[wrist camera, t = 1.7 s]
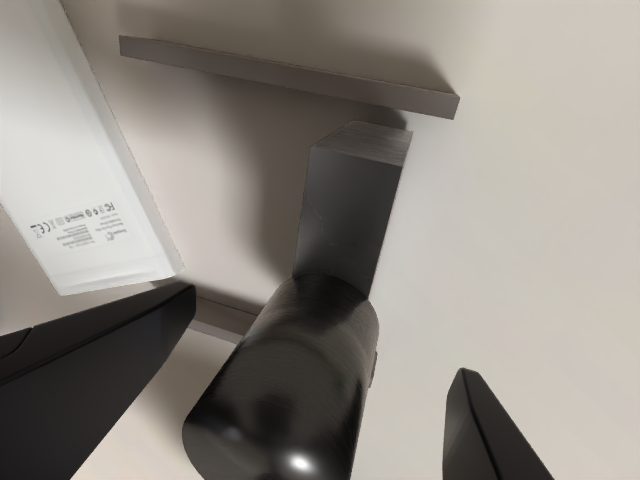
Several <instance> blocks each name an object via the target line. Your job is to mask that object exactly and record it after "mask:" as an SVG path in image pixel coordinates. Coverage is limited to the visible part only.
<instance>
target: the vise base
mask: <svg viewBox="0 0 640 480" xmlns="http://www.w3.org/2000/svg"><path fill="white" fill-rule="evenodd" d="M119 43H120V54H121V56H126V57H131V58H136V59H141V60H146V61H152V62H157V63H162V64H167V65H172V66H177V67H183V68H188V69H193V70H198V71H203V72H208V73H214V74H219V75H224V76H229V77H234V78H239V79H245V80H250V81H255V82H260V83H265V84H270V85H276V86H281V87H286V88H291V89H296V90H301V91H307V92H312V93H317V94H322V95H327V96H332V97H338V98H343V99H348V100H353V101H358V102H363V103H369V104H374V105H379V106H384V107H389V108H394V109H400V110H405V111H410V112H415V113H420V114H425V115H431V116H436V117H441V118H446V119H451V120H453V119H454V116H455V113H456V110H457V106H458V103H459V100H460V97H459V96H458V95H456V94H451V93H445V92H440V91H434V90H429V89H423V88H418V87H412V86H407V85H401V84H396V83H390V82H385V81H379V80H374V79H368V78H363V77H357V76H352V75H346V74H341V73H335V72H330V71H324V70H318V69H313V68H307V67H302V66H296V65H291V64H285V63H280V62H274V61H269V60H263V59H258V58H252V57H247V56H241V55H236V54H230V53H225V52H219V51H214V50H208V49H203V48H197V47H192V46H186V45H181V44H175V43H170V42H164V41H159V40H153V39H146V38H138V37H130V36H121V35H119ZM196 303H197V308H196V314H195V316H194V318H193V320H192V321H191V323H190V324H189V326H188V327H187V328H190V329H193V330H196V331H199V332H202V333H205V334H208V335H211V336H214V337H217V338H220V339H223V340H226V341H229V342H232V343H235V344H239V342H240V341H241V339H242V338H243V337H244V335H245V334H246V332H247V331H248V329H249V328H250V327H251V325H252V324H253V322H254V321H255V320H256V318H257V317H258V316H256V315H253V314H250V313H247V312H243V311H240V310H237V309H234V308H231V307H228V306H224V305H221V304H218V303H215V302H212V301H209V300H205V299H202V298H199V297H196ZM376 360H377V353H375V356H374V361H373V366H372V371H371V376H370V381H369V386H368V388H370V387H371V383H372V380H373V376H374V370H375V365H376Z"/></svg>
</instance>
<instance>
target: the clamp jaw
mask: <svg viewBox="0 0 640 480" xmlns="http://www.w3.org/2000/svg"><path fill="white" fill-rule="evenodd" d="M412 134H413V132H412V131H407V130H402V129H397V128H392V127H387V126H382V125H377V124H373V123H368V122H363V121H358V120H352V121H351V122H349V123H348V124H346V125H344V126H343V127H341V128H339V129H338V130H336V131H335V132H333V133H331V134H330V135H328V136H327V137H325V138H323V139H322V140H320V141H318V142H317V143H315V144H314V145H312V146H310V153H309V160H308V168H307V175H306V182H305V189H304V196H303V203H302V210H301V217H300V224H299V232H298V239H297V246H296V253H295V260H294V267H293V274H292V278H290V279H288V280H287V281H285V282H284V283H283V284H282V285H280V286H279V288H278V289H277V290H276V291H275V293H274V294H273V296H272V297H271V298H270V300H269V301H268V303H267V304H266V305H265V307H264V308H263V310H262V311H261V313H260V314H259V315H258V317H257V318H256V320H255V321H254V322H253V324H252V325H251V327H250V328H249V329H248V331H247V332H246V334H245V335H244V337H243V338H242V339H241V341H240V342H239V344H238V345H237V346H236V348H235V349H234V351H233V352H232V354H231V355H230V356H229V358H228V359H227V361H226V362H225V363H224V365H223V366H222V368H221V369H220V370H219V372H218V373H217V375H216V376H215V378H214V379H213V380H212V382H211V383H210V385H209V386H208V387H207V389H206V390H205V392H204V393H203V394H202V396H201V397H200V399H199V400H198V402H197V403H196V404H195V406H194V407H193V409H192V410H191V411H190V413H189V414H188V416H187V417H186V419H185V421H184V424H183V428H182V439H183V444H184V448H185V451H186V453H187V455H188V458H189V459H190V461H191V463H192V465H193V466H194V467H195V469H196V470H197V471H198V473H199V474H200V475H201V476H202V477H203V478H204V480H350V477H351V472H352V467H353V462H354V457H355V452H356V447H357V442H358V437H359V432H360V427H361V422H362V417H363V412H364V407H365V401H366V396H367V391H368V386H369V381H370V376H371V371H372V366H373V361H374V356H375V351H376V346H377V341H378V336H379V323H378V318H377V315H376V313H375V310H374V308H373V306H372V305H371V303H370V302H369V296H370V293H371V289H372V285H373V281H374V278H375V274H376V270H377V266H378V263H379V259H380V255H381V251H382V247H383V244H384V240H385V236H386V232H387V229H388V225H389V221H390V217H391V214H392V210H393V206H394V202H395V198H396V195H397V191H398V187H399V183H400V180H401V176H402V172H403V168H404V165H405V161H406V157H407V153H408V150H409V146H410V142H411V138H412Z"/></svg>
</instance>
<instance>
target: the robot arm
mask: <svg viewBox="0 0 640 480" xmlns="http://www.w3.org/2000/svg"><path fill="white" fill-rule="evenodd" d="M196 308H197V303H196V286H195V285H193V284H191V283H187V282H184V281H178V282H175V283H172V284H169V285H165V286H162V287H159V288H156V289H152V290H149V291H146V292H143V293H139V294H136V295H133V296H130V297H126V298H123V299H120V300H117V301H114V302H110V303H107V304H104V305H101V306H97V307H94V308H91V309H88V310H84V311H81V312H78V313H75V314H71V315H68V316H65V317H62V318H58V319H55V320H52V321H49V322H46V323H42V324H39V325H36V326H34V327H33V328H31V327H29V328H26V329H23V330H20V331H16V332H13V333H10V334H6V335H3V336H0V480H70V479H71V478H72V477H73V475H74V474H75V473H76V472H77V470H78V469H79V468H80V467H81V465H82V464H83V463H84V462H85V460H86V459H87V458H88V457H89V456H90V454H91V453H92V452H93V451H94V449H95V448H96V447H97V446H98V444H99V443H100V442H101V441H102V439H103V438H104V437H105V436H106V435H107V433H108V432H109V431H110V430H111V428H112V427H113V426H114V425H115V423H116V422H117V421H118V420H119V419H120V417H121V416H122V415H123V414H124V412H125V411H126V410H127V409H128V407H129V406H130V405H131V404H132V402H133V401H134V400H135V399H136V398H137V396H138V395H139V394H140V393H141V391H142V390H143V389H144V388H145V386H146V385H147V384H148V383H149V381H150V380H151V379H152V378H153V377H154V375H155V374H156V373H157V372H158V370H159V369H160V368H161V366H162V365H163V364H164V362H165V361H166V359H167V358H168V357H169V355H170V354H171V352H172V350H173V349H174V347H175V346H176V344H177V343H178V341H179V340H180V338H181V337H182V335H183V334H184V332H185V330H186V329H187V327H188V326H189V324H190V323H191V321H192V320H193V318H194V316H195V314H196ZM442 471H443V480H554V478H553V477H552V475H551V474H550V473H549V471H548V470H547V468H546V467H545V465H544V464H543V463H542V461H541V460H540V458H539V457H538V456H537V454H536V453H535V451H534V450H533V448H532V447H531V446H530V444H529V443H528V441H527V440H526V439H525V437H524V436H523V434H522V433H521V432H520V430H519V429H518V427H517V426H516V424H515V423H514V422H513V420H512V419H511V417H510V416H509V415H508V413H507V412H506V410H505V409H504V407H503V406H502V405H501V403H500V402H499V400H498V399H497V398H496V396H495V395H494V393H493V392H492V391H491V389H490V388H489V386H488V385H487V383H486V382H485V381H484V379H483V378H482V376H481V375H480V374H479V373H478V372H476V371H473V370H469V369H466V368H460V369H459V370H458V371H457V374H456V376H455V378H454V380H453V382H452V385H451V387H450V389H449V391H448V395H447V401H446V415H445V430H444V445H443V462H442Z"/></svg>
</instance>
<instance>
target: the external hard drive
mask: <svg viewBox="0 0 640 480" xmlns="http://www.w3.org/2000/svg"><path fill="white" fill-rule="evenodd" d="M0 203H1V205H2V206H3V208H4V210H5V211H6V213H7V214H8V216H9V217H10V219H11V221H12V222H13V224H14V225H15V227H16V228H17V230H18V231H19V233H20V235H21V236H22V238H23V239H24V241H25V242H26V244H27V245H28V247H29V249H30V250H31V252H32V253H33V255H34V256H35V258H36V259H37V261H38V263H39V264H40V266H41V267H42V269H43V270H44V272H45V274H46V275H47V277H48V279H49V281H50V282H51V284H52V285H53V287H54V288H55V290H56V291H57V293H58V294H59V295H60V296H66V295H72V294H78V293H83V292H89V291H95V290H100V289H106V288H113V287H119V286H125V285H130V284H137V283H142V282H148V281H154V280H161V279H166V278H169V277H172V276H175V275H176V274H178V273H179V272H180V271H181V270H183V269H184V268H185V265H184V263H183V261H182V259H181V257H180V255H179V253H178V250H177V248H176V246H175V244H174V242H173V240H172V238H171V236H170V233H169V231H168V229H167V227H166V225H165V223H164V221H163V219H162V216H161V214H160V212H159V210H158V208H157V206H156V204H155V202H154V200H153V197H152V195H151V193H150V191H149V189H148V187H147V185H146V183H145V180H144V178H143V176H142V174H141V172H140V170H139V168H138V166H137V163H136V161H135V159H134V157H133V155H132V153H131V151H130V149H129V147H128V145H127V142H126V140H125V138H124V136H123V134H122V132H121V130H120V128H119V126H118V123H117V121H116V119H115V117H114V115H113V113H112V111H111V109H110V107H109V104H108V102H107V100H106V98H105V96H104V94H103V92H102V90H101V87H100V85H99V83H98V81H97V79H96V77H95V74H94V72H93V70H92V68H91V66H90V64H89V62H88V60H87V58H86V56H85V53H84V51H83V49H82V47H81V45H80V43H79V41H78V39H77V37H76V35H75V32H74V30H73V28H72V26H71V24H70V22H69V20H68V18H67V16H66V13H65V11H64V9H63V7H62V5H61V3H60V1H59V0H0Z"/></svg>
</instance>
